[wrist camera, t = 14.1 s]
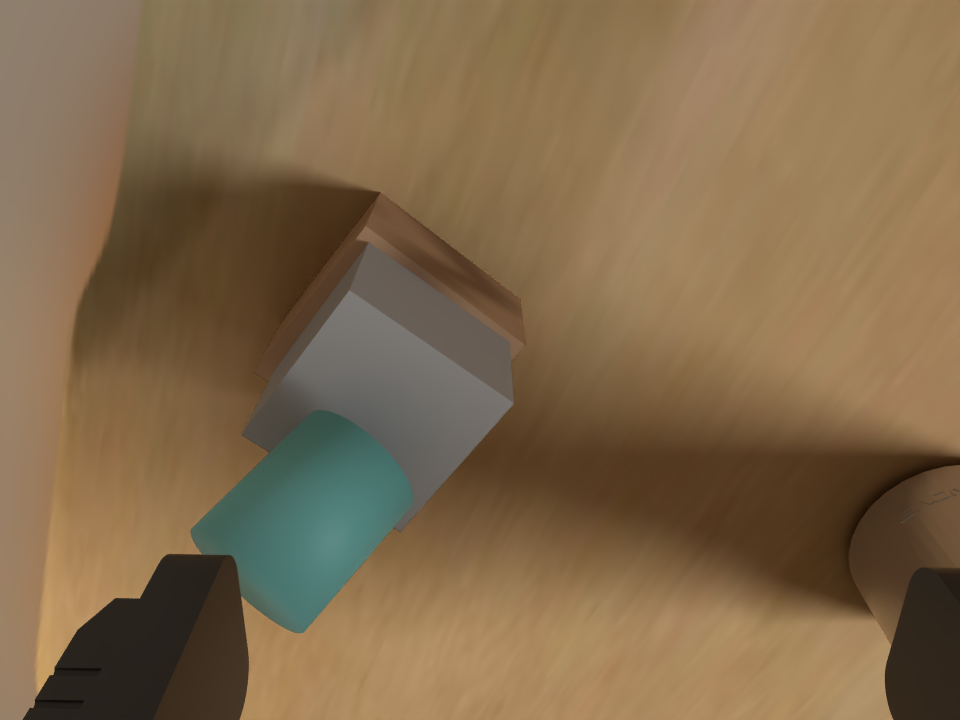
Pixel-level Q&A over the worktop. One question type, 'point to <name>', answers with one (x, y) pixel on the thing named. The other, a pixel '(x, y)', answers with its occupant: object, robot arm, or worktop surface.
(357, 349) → the grey cube
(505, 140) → the worktop surface
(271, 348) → the tower base
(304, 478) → the teal cylinder
